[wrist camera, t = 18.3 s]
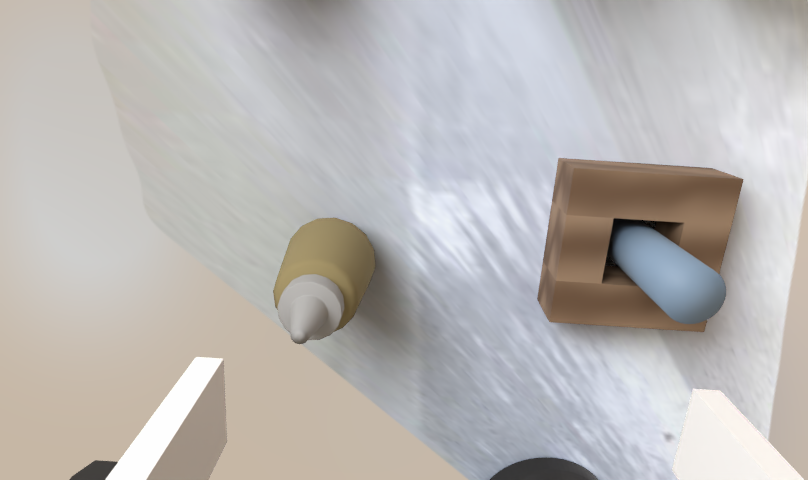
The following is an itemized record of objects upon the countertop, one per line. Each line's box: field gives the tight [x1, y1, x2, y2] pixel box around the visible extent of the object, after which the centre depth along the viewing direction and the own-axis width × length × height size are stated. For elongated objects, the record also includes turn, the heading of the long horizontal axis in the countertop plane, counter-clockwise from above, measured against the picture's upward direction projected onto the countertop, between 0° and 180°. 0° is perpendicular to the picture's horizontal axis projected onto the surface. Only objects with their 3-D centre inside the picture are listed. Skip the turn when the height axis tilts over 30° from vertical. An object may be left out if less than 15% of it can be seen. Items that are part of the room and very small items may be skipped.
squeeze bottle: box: [273, 218, 375, 344], centre depth 44 cm, size 8×8×18 cm
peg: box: [607, 218, 726, 324], centre depth 45 cm, size 4×4×14 cm
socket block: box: [537, 158, 743, 332], centre depth 50 cm, size 14×14×5 cm
